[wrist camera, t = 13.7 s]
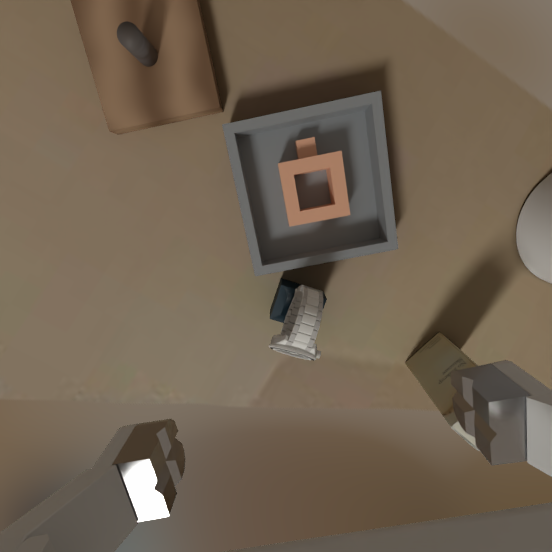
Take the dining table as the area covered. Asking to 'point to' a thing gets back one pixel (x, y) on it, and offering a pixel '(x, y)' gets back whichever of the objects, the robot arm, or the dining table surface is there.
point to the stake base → (149, 85)
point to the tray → (314, 183)
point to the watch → (297, 319)
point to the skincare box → (441, 376)
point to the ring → (307, 164)
